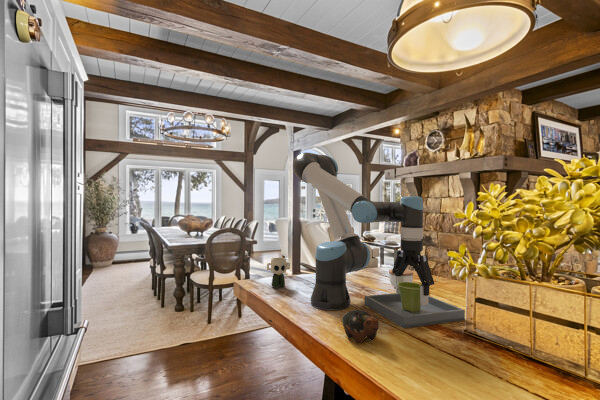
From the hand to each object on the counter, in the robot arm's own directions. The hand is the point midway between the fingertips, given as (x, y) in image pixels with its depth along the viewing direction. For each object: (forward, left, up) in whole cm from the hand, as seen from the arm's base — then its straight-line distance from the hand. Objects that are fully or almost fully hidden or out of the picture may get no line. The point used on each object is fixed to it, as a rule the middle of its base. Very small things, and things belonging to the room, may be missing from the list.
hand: (411, 298), depth 115 cm
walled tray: (0, 0, -5) cm, 5 cm away
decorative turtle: (-28, -14, -5) cm, 32 cm away
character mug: (-37, +47, -5) cm, 60 cm away
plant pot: (0, 0, -4) cm, 4 cm away
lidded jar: (+17, +30, -5) cm, 35 cm away
